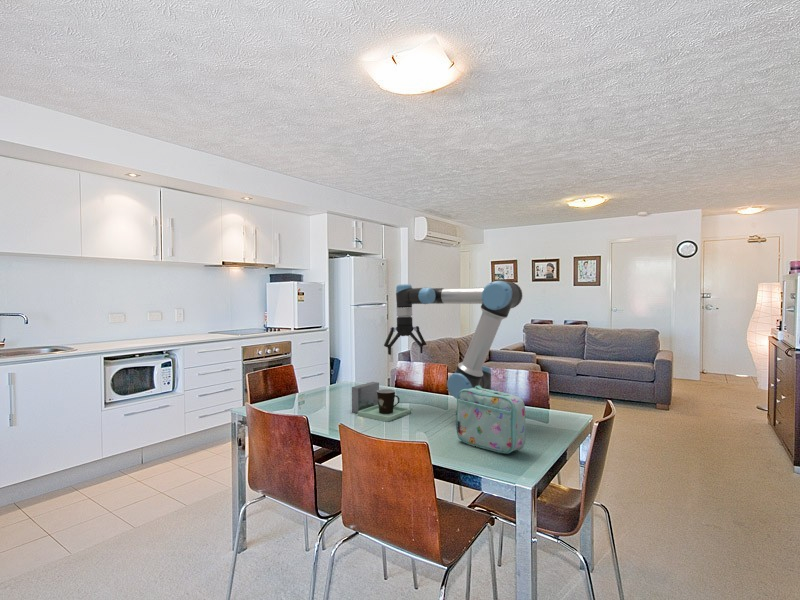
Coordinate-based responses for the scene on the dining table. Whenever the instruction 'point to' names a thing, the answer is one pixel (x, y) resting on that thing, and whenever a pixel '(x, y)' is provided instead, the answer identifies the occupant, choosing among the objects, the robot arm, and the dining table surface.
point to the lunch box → (490, 419)
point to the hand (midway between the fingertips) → (405, 360)
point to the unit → (364, 396)
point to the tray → (374, 414)
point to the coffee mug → (386, 400)
